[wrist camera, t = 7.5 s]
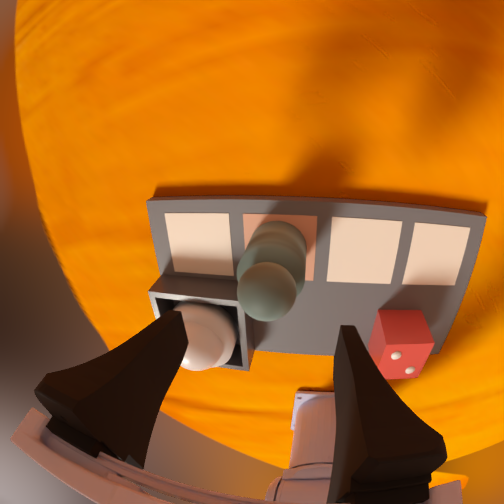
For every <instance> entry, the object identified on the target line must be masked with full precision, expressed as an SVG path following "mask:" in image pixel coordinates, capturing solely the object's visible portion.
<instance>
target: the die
mask: <svg viewBox="0 0 504 504" xmlns="http://www.w3.org/2000/svg"><path fill="white" fill-rule="evenodd" d="M434 344H435V342H434V340H433V337H432V335H431V332H430V330H429V327H428V325H427V322H426V320H425V318H424V315H423V313H422V311H421V310H378V311H377V315H376V319H375V322H374V326H373V330H372V333H371V336H370V340H369V343H368V348H369V354H370V356H371V357H372V359H373V361H374V363H375V364H376V366H377V367H378V369H379V371H380V372H381V374H382V375H383V377H384V378H385V379H404V378H417V377H418V376H419V374H420V372H421V370H422V368H423V366H424V364H425V362H426V360H427V358H428V356H429V354H430V352H431V350H432V348H433V346H434Z"/></svg>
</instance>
